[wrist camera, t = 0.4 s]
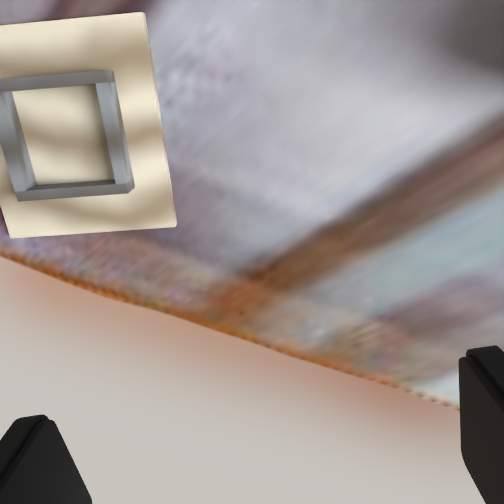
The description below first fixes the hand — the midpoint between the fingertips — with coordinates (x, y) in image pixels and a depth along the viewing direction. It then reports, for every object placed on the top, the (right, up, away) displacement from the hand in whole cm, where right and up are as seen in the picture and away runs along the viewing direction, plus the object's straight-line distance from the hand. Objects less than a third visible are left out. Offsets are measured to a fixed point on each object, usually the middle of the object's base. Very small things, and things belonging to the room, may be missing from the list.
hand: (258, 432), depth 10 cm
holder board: (-18, +16, +33) cm, 41 cm away
